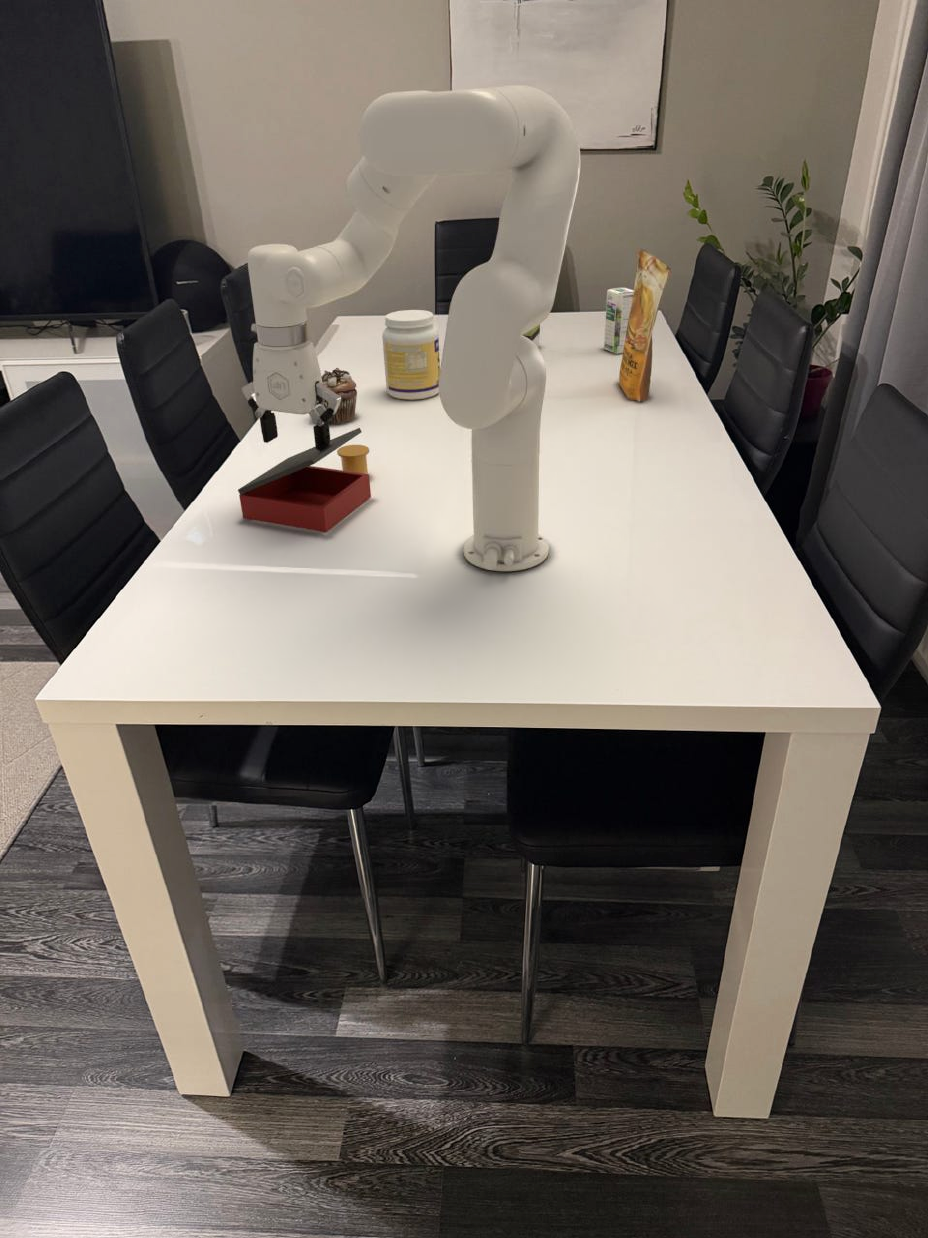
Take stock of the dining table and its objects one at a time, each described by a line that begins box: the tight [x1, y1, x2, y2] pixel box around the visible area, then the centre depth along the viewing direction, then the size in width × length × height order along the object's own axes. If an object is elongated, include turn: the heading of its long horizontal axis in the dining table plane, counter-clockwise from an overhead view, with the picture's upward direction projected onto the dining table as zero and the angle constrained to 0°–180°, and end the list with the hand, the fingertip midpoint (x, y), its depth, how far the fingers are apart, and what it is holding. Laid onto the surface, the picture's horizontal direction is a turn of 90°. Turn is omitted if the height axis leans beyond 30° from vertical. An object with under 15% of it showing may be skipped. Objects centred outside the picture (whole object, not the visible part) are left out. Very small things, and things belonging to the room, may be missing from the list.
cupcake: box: [316, 367, 358, 426], centre depth 189 cm, size 10×10×10 cm
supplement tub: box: [381, 309, 441, 401], centre depth 201 cm, size 12×12×17 cm
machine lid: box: [237, 427, 363, 495], centre depth 147 cm, size 16×15×1 cm
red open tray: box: [238, 465, 372, 533], centre depth 150 cm, size 16×15×5 cm
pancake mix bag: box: [618, 248, 672, 403], centre depth 194 cm, size 7×19×28 cm, turn 2°
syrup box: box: [603, 287, 634, 355], centre depth 226 cm, size 6×6×14 cm
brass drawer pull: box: [336, 444, 370, 474], centre depth 161 cm, size 6×6×5 cm
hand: (296, 443), depth 146 cm, fingers open, 9 cm apart
